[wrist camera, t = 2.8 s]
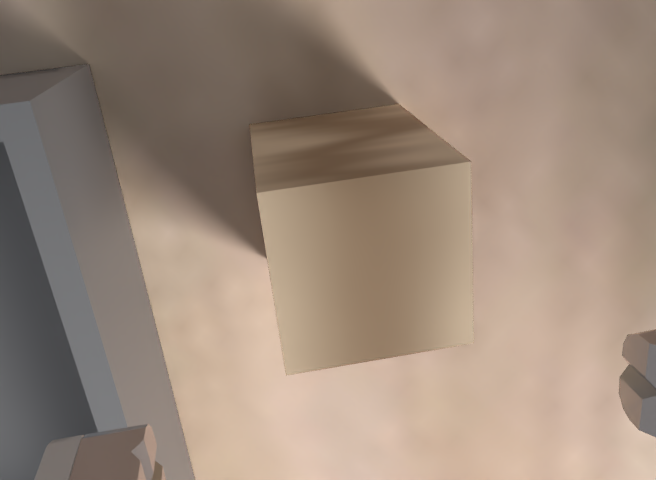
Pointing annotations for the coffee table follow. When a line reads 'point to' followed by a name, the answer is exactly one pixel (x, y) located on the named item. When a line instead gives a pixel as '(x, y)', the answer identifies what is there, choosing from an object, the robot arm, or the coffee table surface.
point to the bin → (71, 283)
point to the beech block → (364, 236)
